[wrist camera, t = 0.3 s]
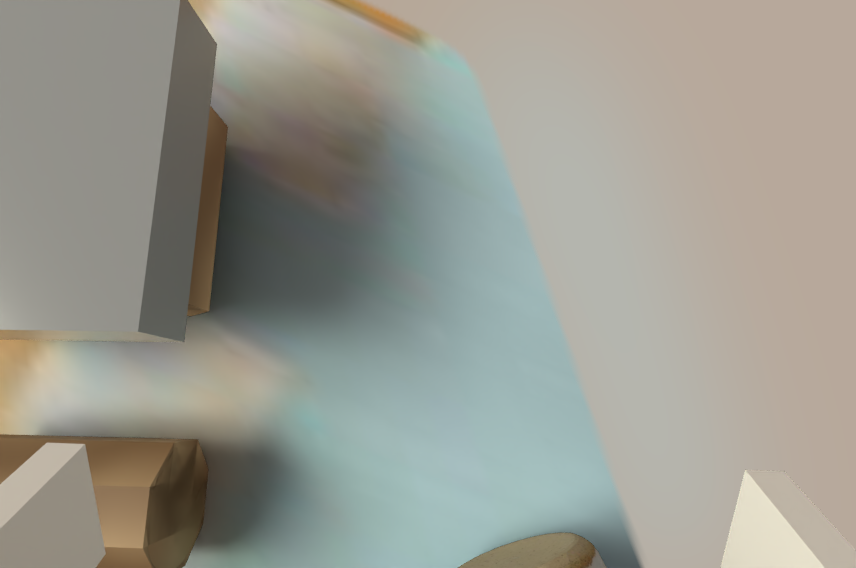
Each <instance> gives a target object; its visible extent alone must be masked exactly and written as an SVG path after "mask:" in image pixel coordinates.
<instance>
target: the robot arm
mask: <svg viewBox="0 0 856 568" xmlns="http://www.w3.org/2000/svg"><path fill="white" fill-rule="evenodd" d="M105 554H106V552H105V547H104V542H103V536H102V531H101V526H100V521H99V515H98V510H97V505H96V499H95V494H94V489H93V483H92V478H91V473H90V467H89V462H88V457H87V452H86V446H85V444H71V443H46V444H45V445H44V446H42V447H41V448H40V449H39V450H38V451H37V452H36V453H35V454H33V455H32V456H31V457H30V458H29V459H28V460H27V461H26V462H25V463H23V464H22V465H21V466H20V467H19V468H18V469H17V470H16V471H15V472H13V473H12V474H11V475H10V476H9V477H8V478H7V479H6V480H5V481H3V482H2V483H1V484H0V568H96V567H97V565H98V564H99V562H100V561H101V560H102V558H103V557H104V556H105ZM720 568H856V550H855V549H854V548H853V546H852V545H851V544H850V543H849V542H848V541H847V540H846V539H845V538H844V537H843V535H842V534H841V533H840V532H839V531H838V530H837V529H836V528H835V527H834V526H833V524H832V523H831V522H830V521H829V520H828V519H827V518H826V517H825V516H824V515H823V514H822V513H821V511H820V510H819V509H818V508H817V507H816V506H815V505H814V504H813V503H812V502H811V500H810V499H809V498H808V497H807V496H806V495H805V494H804V493H803V492H802V490H800V488H799V487H798V486H797V485H796V484H795V483H794V482H793V481H792V480H791V478H790V477H789V476H788V475H787V474H786V473H785V472H784V471H763V470H745V473H744V477H743V481H742V485H741V489H740V493H739V496H738V500H737V504H736V508H735V513H734V516H733V520H732V524H731V528H730V532H729V536H728V540H727V544H726V547H725V551H724V555H723V559H722V563H721V567H720Z"/></svg>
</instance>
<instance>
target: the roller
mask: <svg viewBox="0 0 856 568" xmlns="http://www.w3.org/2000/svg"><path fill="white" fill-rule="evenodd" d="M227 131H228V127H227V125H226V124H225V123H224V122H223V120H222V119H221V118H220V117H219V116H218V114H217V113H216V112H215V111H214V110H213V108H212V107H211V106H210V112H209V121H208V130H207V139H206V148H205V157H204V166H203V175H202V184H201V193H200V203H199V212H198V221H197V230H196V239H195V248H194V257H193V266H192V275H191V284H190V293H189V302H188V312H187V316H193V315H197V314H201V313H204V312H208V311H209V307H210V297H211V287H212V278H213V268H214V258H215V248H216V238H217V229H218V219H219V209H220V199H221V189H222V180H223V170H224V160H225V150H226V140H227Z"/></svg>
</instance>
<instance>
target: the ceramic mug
mask: <svg viewBox="0 0 856 568" xmlns="http://www.w3.org/2000/svg"><path fill="white" fill-rule="evenodd" d="M458 568H607V567H606V566H605V564H604V562H603V560H602V558H601V556H600V555H599V553H598V551H597V550H596V548H595V547H594V546H593V545H592V543H590V542H589V541H588V540H586V539H585V538H583V537H581V536H579V535H576V534H573V533H552V534H544V535H539V536H534V537H530V538H527V539H523V540H519V541H516V542H513V543H510V544H507V545H504V546H501V547H498V548H496V549H493V550H491V551H489V552H486V553H484V554H481V555H479V556H477V557H475V558H473V559H472V560H470V561H468V562H466V563H464V564H463V565H461V566H460V567H458Z"/></svg>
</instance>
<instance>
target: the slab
mask: <svg viewBox="0 0 856 568" xmlns="http://www.w3.org/2000/svg"><path fill="white" fill-rule="evenodd" d="M216 48H217V44H216V42H215V41H214V39H213V38H212V36H211V35H210V33H209V32H208V30H207V29H206V27H205V26H204V24H203V23H202V21H201V20H200V18H199V17H198V15H197V14H196V12H195V11H194V9H193V8H192V6H191V5H190V3H189V2H188V0H0V339H3V340H69V341H134V342H184V339H185V330H186V321H187V312H188V302H189V293H190V284H191V275H192V266H193V257H194V248H195V239H196V230H197V221H198V212H199V203H200V193H201V184H202V175H203V166H204V157H205V148H206V139H207V130H208V121H209V112H210V103H211V93H212V84H213V75H214V66H215V57H216Z"/></svg>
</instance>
